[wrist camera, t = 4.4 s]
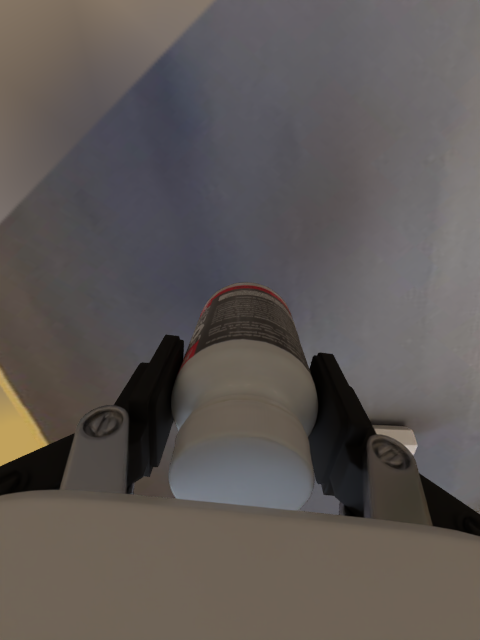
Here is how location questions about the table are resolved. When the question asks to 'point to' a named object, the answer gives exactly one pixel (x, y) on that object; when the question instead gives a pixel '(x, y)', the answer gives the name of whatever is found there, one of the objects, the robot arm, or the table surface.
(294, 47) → the table surface
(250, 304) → the pill bottle
